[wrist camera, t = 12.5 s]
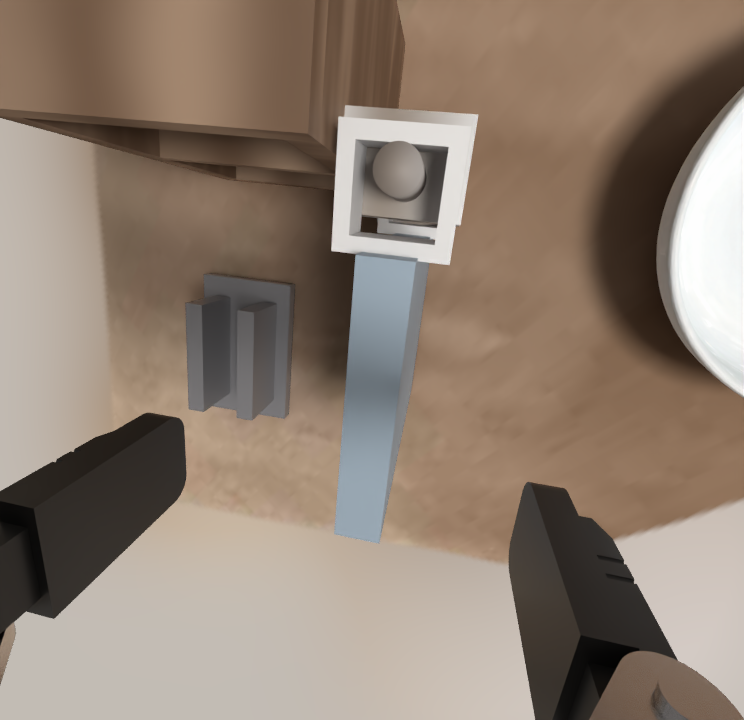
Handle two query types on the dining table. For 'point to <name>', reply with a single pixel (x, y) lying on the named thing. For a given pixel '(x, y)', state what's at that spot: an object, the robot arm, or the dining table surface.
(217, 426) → the dining table surface
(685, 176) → the serving bowl
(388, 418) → the cabinet door
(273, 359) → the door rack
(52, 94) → the cabinet
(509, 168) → the dining table surface
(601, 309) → the dining table surface
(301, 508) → the dining table surface
